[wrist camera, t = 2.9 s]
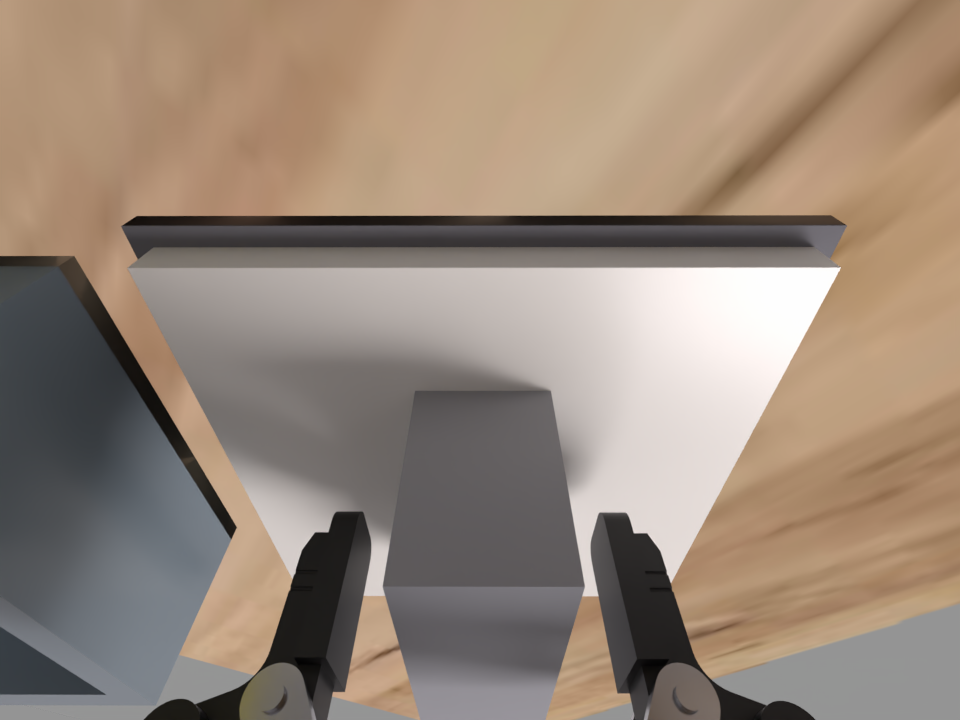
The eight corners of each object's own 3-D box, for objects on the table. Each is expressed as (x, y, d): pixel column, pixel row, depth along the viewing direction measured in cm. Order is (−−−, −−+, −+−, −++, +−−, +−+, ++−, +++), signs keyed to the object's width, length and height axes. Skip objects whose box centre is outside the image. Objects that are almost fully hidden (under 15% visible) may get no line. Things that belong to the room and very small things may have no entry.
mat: (830, 215, 11) (847, 225, 10) (661, 564, 21) (665, 578, 20) (136, 216, 11) (120, 226, 10) (303, 564, 21) (299, 577, 20)
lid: (814, 247, 10) (1085, 455, 6) (656, 572, 20) (710, 752, 15) (153, 247, 10) (-111, 454, 6) (308, 572, 20) (254, 751, 15)
